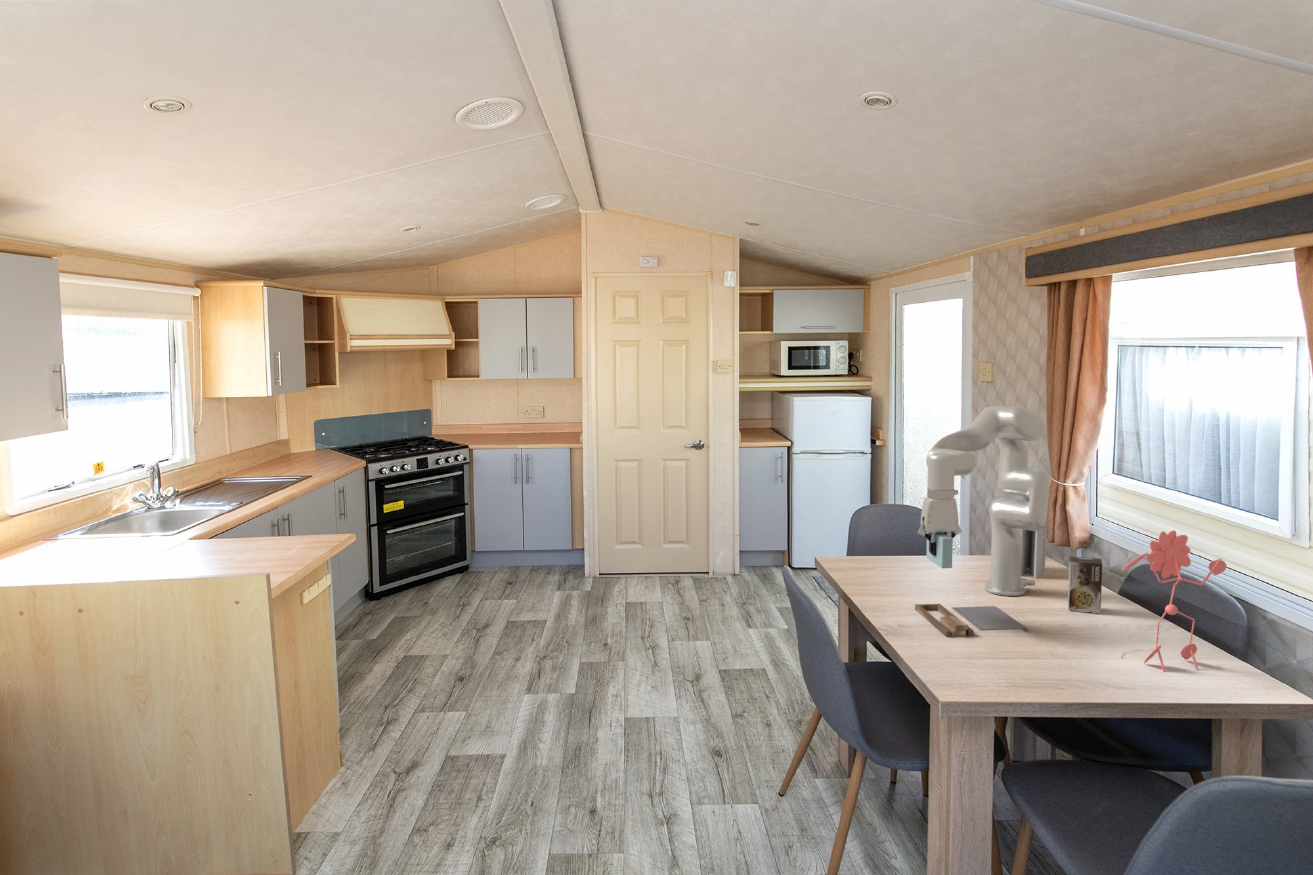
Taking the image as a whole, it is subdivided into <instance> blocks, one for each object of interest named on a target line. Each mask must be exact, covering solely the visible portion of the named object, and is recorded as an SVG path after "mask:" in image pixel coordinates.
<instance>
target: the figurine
mask: <svg viewBox="0 0 1313 875" xmlns="http://www.w3.org/2000/svg"><path fill="white" fill-rule="evenodd" d="M1188 540H1189V536H1188V535H1186V534H1180V535H1178V536H1177V531H1176V530H1170V531H1169V532H1168V533H1166V532H1165V531H1161V532H1160V533H1159V534H1158V540H1151V541H1150V542H1149V548H1150V550H1151V552H1149V553H1148V552H1147V551H1146V552H1144V553H1143V554H1141V555H1139V556H1137V557H1135V558H1134V559H1133V560H1131V561H1130V562H1129V563H1128V564H1126V566H1124V567H1123V568H1122V569H1121V572H1125V571H1126V570H1127V569H1128V570H1129V569H1130V568H1132V567H1133V566H1134V565H1136V564H1137V563H1139V562H1140V561H1142V560H1143V558H1145V557H1146V559H1147V561H1148V563H1149V565H1150V571H1151V572H1153V573H1154V575H1155V577H1156V579H1157V582H1158V584H1165V583H1170V582H1174V581H1175V582H1174V583H1173V585H1172V586H1173V587H1172V590H1171V596H1170V601H1169V604H1167V605H1166V606H1165V608H1164V610H1165V611H1164V612H1163V614H1162V616H1161V618H1160V619H1159V621H1158V622H1157V627H1156V629H1157V630H1156V642H1155V643H1156V644H1155V647H1154V649H1153V650H1151V652H1150V654H1148V655H1147V657H1146V658H1145V660H1144V662H1143V664H1146V663H1147V662H1148V661H1149V660H1151V658H1153V657H1154V656H1155V655H1156V654H1157V655H1158V657H1159V661H1160V665H1161V666H1160V667H1161V669H1162V672H1166V668H1165V664H1164V660H1163V658H1162V655H1161V651H1160V650H1161V648H1162V645H1161V644H1158V643H1159V633H1160V624H1161V622H1162V620H1163V619H1164V617H1165V616H1166V614H1168V615H1170V616H1173V615H1174V616H1175V615H1176V614H1179V615H1181V616H1183V617H1185V618H1187V619H1189V620H1192V623H1191V624H1192V625H1191V631H1190V638H1189V643H1188V644H1186V645H1184V647H1182V649H1181V650H1180V657H1182V658H1183V659H1184V660H1186V661H1187V660H1189V659H1190V658H1192V661H1193V665H1194V668H1195V669H1196V668H1198V664H1197V660H1196V658H1195V654H1196V653H1197V651H1198V647H1197V645H1196V644H1194V643H1192V639H1193V636H1194V634H1193V633H1194V629H1195V623H1196V622H1195V621H1196V619H1195V618H1193V617H1191V616H1188V615H1187V614H1186V613H1185V614H1184V613H1182V612H1180V611H1179V609H1178V607H1177V606H1176V605H1174V604H1173V599H1174V596H1175V592H1176V591H1175V590H1176V587H1177V585H1178V584H1179V582H1183V581H1184V582H1187V583H1190V584H1194V585H1198V586H1203V585H1205V583H1206V582H1207V580H1208V579H1209V578H1210V577H1211V575H1212V574H1213V575H1214V576H1218V575H1220V574H1222V573H1224V572H1225V570H1226V569H1227V563H1226V562H1225V560H1222V559H1221V558H1217V559H1214V560H1211V562H1210V563H1209V564H1208V566H1207V567H1208V570H1209V572H1208V573H1207V575H1206V576H1205V578H1204V579H1203V581H1202V582H1198V581H1194V580H1190V579H1186V578H1184V577H1182V575H1181V569H1182V568H1181V567H1183V568H1184V567H1185V568H1188V567H1190V566H1191V564H1192V561H1191V558H1190V556H1189V554H1190V553H1191V548H1190V547H1189V546H1188V545H1187V542H1188ZM1157 572H1161V573H1160V574H1161V577H1162V578H1163V579H1164V580H1161V578H1160V576H1159V574H1158V573H1157ZM1170 576H1174V577H1175V578H1170ZM1177 576H1178V577H1177ZM1168 578H1170V579H1168ZM1123 656H1124V655H1121V659H1122V658H1123ZM1216 666H1217V667H1218V668H1220V666H1219V665H1218V664H1217V665H1216ZM1198 669H1199V668H1198Z"/></svg>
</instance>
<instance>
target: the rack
mask: <svg viewBox="0 0 1313 875" xmlns="http://www.w3.org/2000/svg"><path fill="white" fill-rule="evenodd" d="M914 605H915V606H914V610H915V612H917V613H918V614H919V615H921V616H922V617H923V618H924V619H925V620H926V621H927V622H929V624H931V626H933V627H934V628H935V629H937V630H938V632H940V633H941V634H942V635H943V636H945V637H946V638H951V637H952V636H951V631H950V630H949V629H948V628H946V627H945V626H944V625H943V624H942V623H940V620H938V619H937V618H936V617H934V616H933V614H931V613H930V611H937V612H938V613H940V614H941V615H942V616H943V617H946V616H953V617H955V618H957V619H959V618H958V617H957V616H956V615H954V614H953V613H952V612H951V611H949V610H948V609H947V608H946V607H945V606H943V605H942V604H940V603H923V604H922V603H920V604H919V603H918V604H914ZM928 611H929V612H928ZM959 620H960V621H962V620H961V619H959ZM974 631H975V630H974V629H972V628H971V627H970V626H968V630H966V636H968V637H974Z"/></svg>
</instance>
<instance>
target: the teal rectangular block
mask: <svg viewBox="0 0 1313 875" xmlns="http://www.w3.org/2000/svg"><path fill="white" fill-rule="evenodd" d="M926 533H928V532H927V531H926ZM935 543H936V556H933V555H932V554H930V552H929V540H928V539H927V538H926V559H928V560H929V561H931V562H932V563H934V564H935V565H936V566H938V567H939V568H940V569H952V568H953V547H954V544H953V543H954V538H952V537H950V536H948V535H947V534H945V533H943V532H937V533H936V536H935Z"/></svg>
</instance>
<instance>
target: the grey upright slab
mask: <svg viewBox="0 0 1313 875" xmlns="http://www.w3.org/2000/svg"><path fill="white" fill-rule="evenodd" d="M1021 497H1022V498H1021V500H1025V501H1029V497H1027V496H1021ZM1048 509H1049V507H1048V508H1047V513H1048V512H1049V511H1048ZM1047 531H1048V515H1047V516H1046V522H1045V525H1044V527H1043V528H1042V529H1041V530H1039V531H1029V530H1023V529H1020V535H1021V538H1022V563H1021V576H1022V575H1023V574H1024V573H1025V572H1026V571H1028V569H1029V570H1030V572H1031V574H1032V575H1033V577H1034V579H1037V578H1038V577H1039V576H1040V575H1041V574H1042V573H1043V572H1044V571H1045V570H1046V555H1047V553H1046V552H1047Z"/></svg>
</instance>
